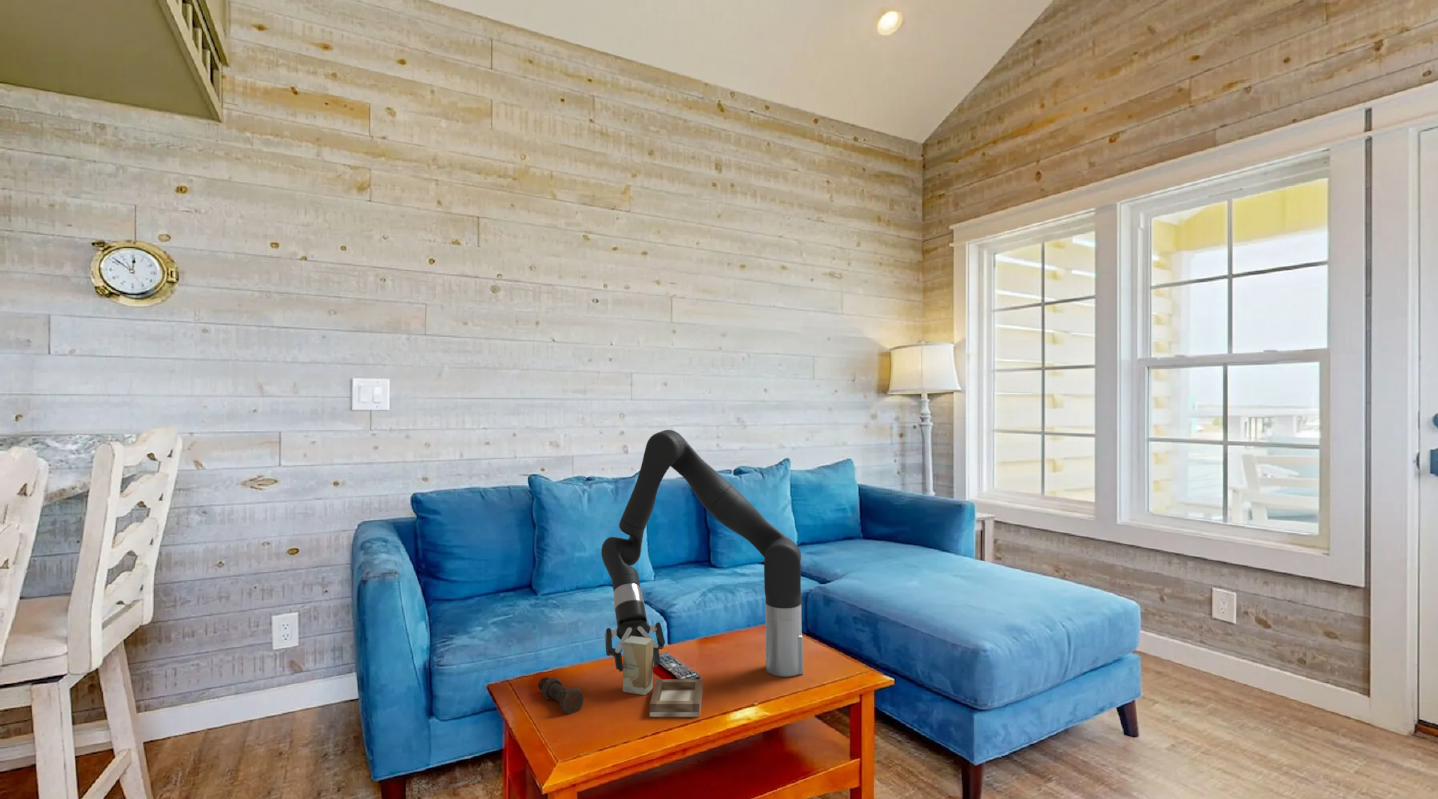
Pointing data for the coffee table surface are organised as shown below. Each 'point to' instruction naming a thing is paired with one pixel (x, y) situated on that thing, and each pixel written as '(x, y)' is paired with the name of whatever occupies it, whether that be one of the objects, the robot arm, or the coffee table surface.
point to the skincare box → (638, 665)
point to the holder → (676, 698)
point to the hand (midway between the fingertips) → (639, 668)
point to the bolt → (562, 694)
